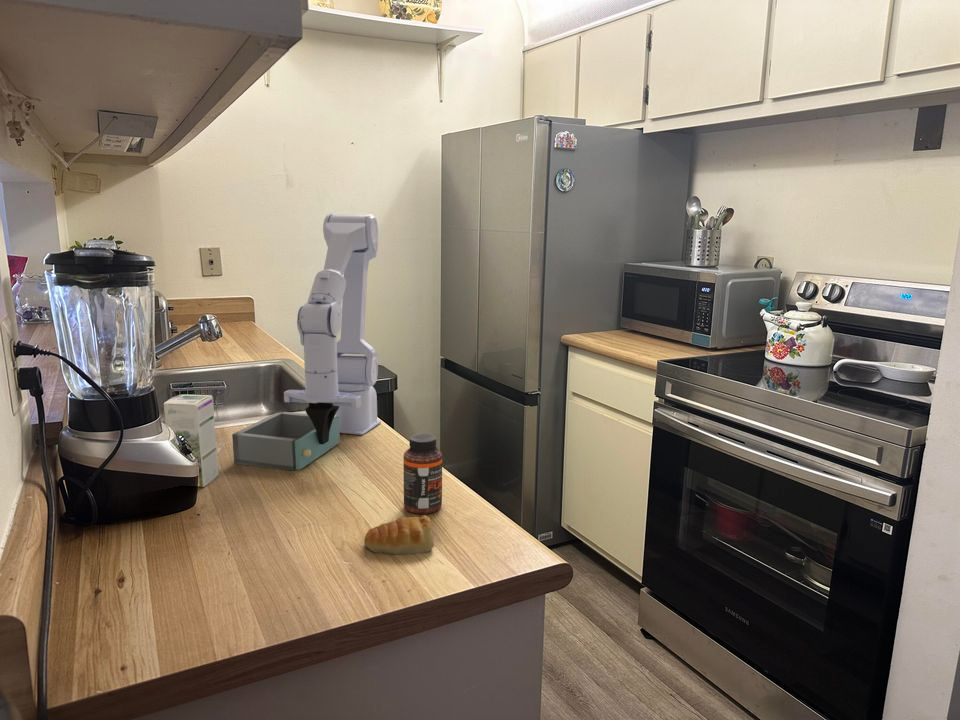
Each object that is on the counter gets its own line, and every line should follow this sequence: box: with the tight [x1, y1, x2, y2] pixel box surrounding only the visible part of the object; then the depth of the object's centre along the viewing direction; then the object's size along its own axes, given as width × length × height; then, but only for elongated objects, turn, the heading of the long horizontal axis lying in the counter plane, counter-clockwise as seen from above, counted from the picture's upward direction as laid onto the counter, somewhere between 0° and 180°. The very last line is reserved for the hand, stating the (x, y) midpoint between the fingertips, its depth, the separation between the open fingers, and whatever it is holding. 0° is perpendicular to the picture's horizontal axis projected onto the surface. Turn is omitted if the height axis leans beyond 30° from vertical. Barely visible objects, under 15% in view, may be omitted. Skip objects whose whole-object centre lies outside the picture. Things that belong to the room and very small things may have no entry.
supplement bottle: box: [403, 433, 443, 515], centre depth 103 cm, size 6×6×11 cm
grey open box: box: [231, 411, 315, 472], centre depth 127 cm, size 15×12×6 cm
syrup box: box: [163, 393, 220, 488], centre depth 112 cm, size 6×6×14 cm
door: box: [295, 416, 341, 470], centre depth 125 cm, size 15×2×5 cm, turn 165°
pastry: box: [363, 514, 435, 555], centre depth 93 cm, size 9×7×4 cm
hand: (323, 442), depth 124 cm, fingers closed
